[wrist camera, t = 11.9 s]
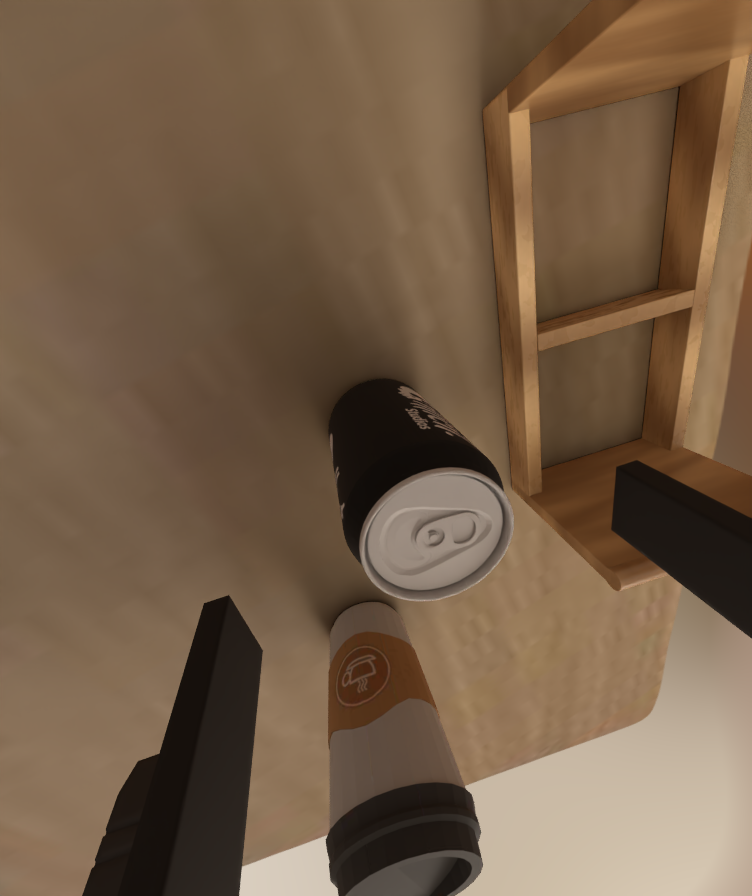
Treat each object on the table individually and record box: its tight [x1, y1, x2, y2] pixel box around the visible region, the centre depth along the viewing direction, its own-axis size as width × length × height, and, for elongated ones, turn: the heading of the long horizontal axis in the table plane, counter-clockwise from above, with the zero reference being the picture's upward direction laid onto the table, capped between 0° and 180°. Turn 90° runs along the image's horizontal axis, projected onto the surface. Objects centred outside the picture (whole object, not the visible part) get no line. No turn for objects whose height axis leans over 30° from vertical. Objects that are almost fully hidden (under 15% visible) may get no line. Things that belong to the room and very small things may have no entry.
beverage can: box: [329, 379, 514, 601], centre depth 18 cm, size 7×7×12 cm
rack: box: [483, 0, 752, 591], centre depth 18 cm, size 23×12×11 cm, turn 14°
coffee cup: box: [326, 602, 483, 896], centre depth 24 cm, size 8×8×15 cm
